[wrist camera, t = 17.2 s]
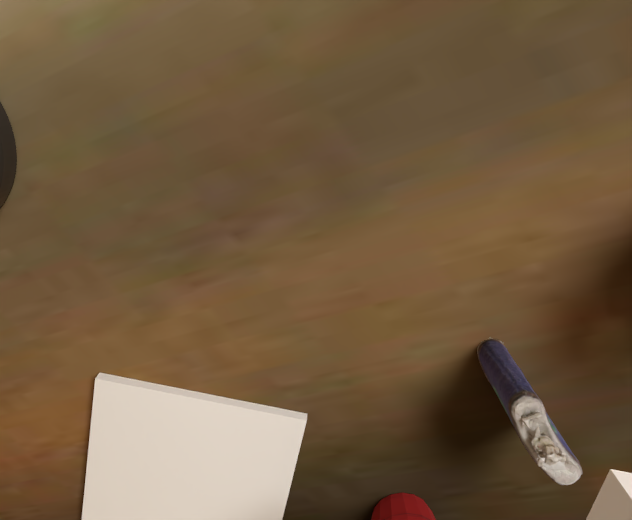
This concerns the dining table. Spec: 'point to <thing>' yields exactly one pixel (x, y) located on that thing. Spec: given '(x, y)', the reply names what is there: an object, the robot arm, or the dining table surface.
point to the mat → (186, 454)
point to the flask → (528, 414)
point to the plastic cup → (402, 508)
